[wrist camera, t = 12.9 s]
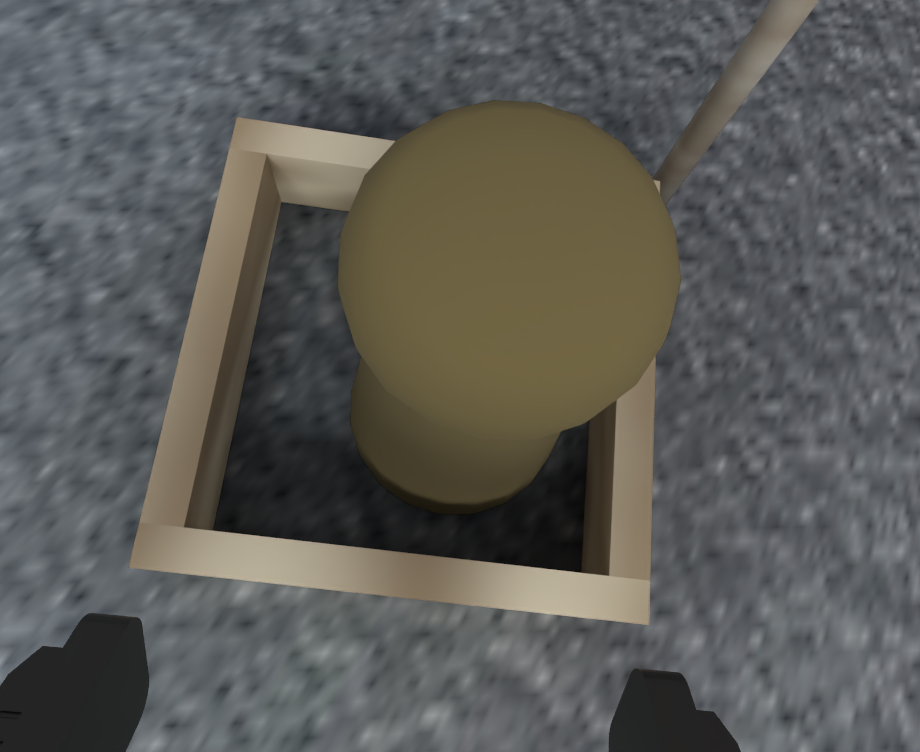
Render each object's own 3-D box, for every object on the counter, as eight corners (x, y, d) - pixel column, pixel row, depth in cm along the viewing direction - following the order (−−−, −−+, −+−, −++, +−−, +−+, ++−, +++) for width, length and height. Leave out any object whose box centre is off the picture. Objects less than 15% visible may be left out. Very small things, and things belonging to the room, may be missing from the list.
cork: (370, 295, 20) (345, -8, 9) (567, 330, 20) (754, 73, 10) (330, 496, 18) (242, 399, 8) (545, 531, 19) (744, 483, 8)
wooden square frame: (165, 567, 17) (-1562, 569, 2) (260, 147, 21) (-103, -989, 6) (785, 635, 18) (2752, 978, 3) (773, 223, 22) (1639, -565, 7)
